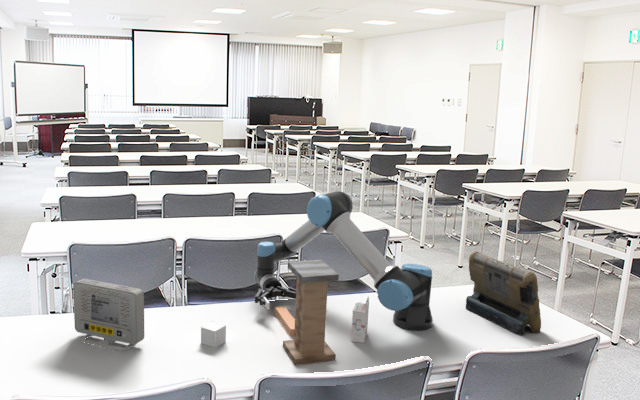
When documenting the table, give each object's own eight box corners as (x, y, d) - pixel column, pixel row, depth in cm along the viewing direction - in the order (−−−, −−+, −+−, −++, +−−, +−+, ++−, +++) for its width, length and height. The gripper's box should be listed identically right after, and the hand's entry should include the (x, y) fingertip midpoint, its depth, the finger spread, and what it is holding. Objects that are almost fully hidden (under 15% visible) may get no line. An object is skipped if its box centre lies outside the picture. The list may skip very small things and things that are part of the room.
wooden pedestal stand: (282, 345, 196) (285, 262, 191) (319, 340, 201) (324, 259, 196) (295, 366, 182) (299, 277, 176) (336, 361, 187) (341, 274, 181)
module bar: (274, 313, 224) (274, 306, 224) (284, 313, 226) (284, 305, 225) (290, 337, 204) (290, 329, 203) (301, 336, 205) (301, 328, 205)
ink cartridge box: (353, 332, 210) (356, 294, 207) (367, 333, 209) (369, 295, 206) (350, 341, 202) (352, 302, 199) (364, 343, 201) (366, 304, 198)
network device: (148, 343, 193) (148, 287, 189) (132, 354, 185) (131, 295, 181) (87, 329, 201) (85, 276, 197) (69, 339, 193) (66, 283, 189)
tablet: (546, 331, 220) (554, 269, 215) (524, 338, 212) (532, 274, 207) (479, 303, 246) (485, 247, 241) (457, 308, 238) (463, 251, 233)
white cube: (214, 348, 192) (214, 331, 191) (200, 343, 195) (200, 327, 194) (225, 341, 197) (226, 325, 196) (212, 337, 200) (212, 321, 199)
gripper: (299, 292, 240) (316, 311, 221) (241, 297, 232) (253, 317, 212) (300, 275, 239) (317, 292, 219) (241, 279, 230) (253, 298, 211)
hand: (285, 304), depth 216 cm, fingers open, 13 cm apart
